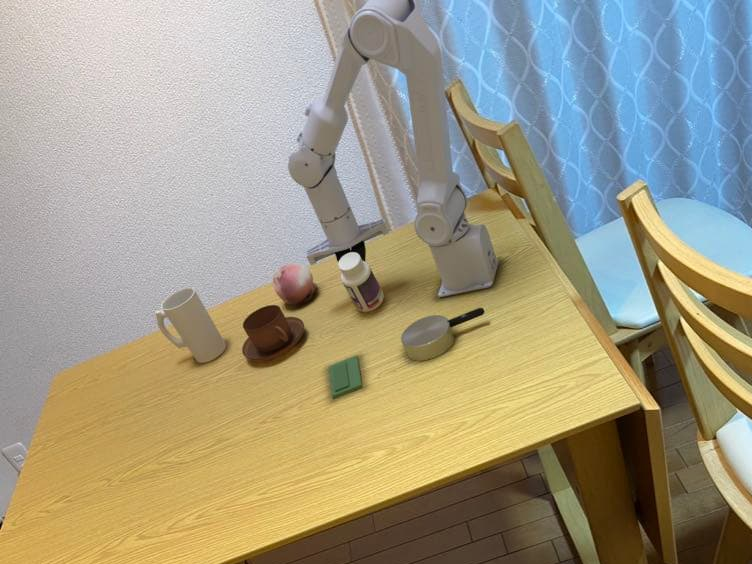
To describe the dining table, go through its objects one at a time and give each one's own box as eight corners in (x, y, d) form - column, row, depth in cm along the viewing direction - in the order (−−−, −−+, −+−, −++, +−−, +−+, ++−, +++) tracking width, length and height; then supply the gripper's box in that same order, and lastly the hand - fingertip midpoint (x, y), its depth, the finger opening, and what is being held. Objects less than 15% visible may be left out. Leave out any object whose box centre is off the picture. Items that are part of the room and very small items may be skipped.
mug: (231, 338, 162) (199, 283, 154) (222, 358, 157) (188, 303, 149) (186, 350, 165) (152, 297, 157) (176, 371, 161) (140, 318, 153)
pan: (410, 367, 133) (403, 352, 131) (404, 341, 139) (398, 327, 137) (493, 334, 131) (487, 319, 129) (483, 309, 136) (478, 294, 135)
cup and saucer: (319, 325, 153) (305, 295, 149) (284, 368, 147) (268, 338, 143) (270, 326, 159) (255, 297, 155) (235, 367, 153) (218, 339, 149)
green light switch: (358, 357, 140) (356, 353, 140) (362, 387, 134) (360, 382, 133) (330, 368, 141) (327, 364, 140) (333, 399, 134) (330, 394, 134)
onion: (279, 301, 165) (262, 268, 161) (314, 281, 166) (298, 248, 161) (290, 316, 159) (272, 283, 155) (326, 295, 160) (309, 262, 155)
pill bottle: (385, 286, 151) (365, 245, 143) (383, 309, 149) (362, 269, 140) (356, 291, 153) (335, 252, 145) (354, 315, 150) (332, 276, 142)
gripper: (372, 187, 145) (400, 258, 154) (294, 220, 147) (326, 288, 156) (376, 203, 139) (405, 275, 148) (295, 237, 142) (328, 306, 151)
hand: (365, 283), depth 152 cm, fingers closed, pressing on pill bottle
